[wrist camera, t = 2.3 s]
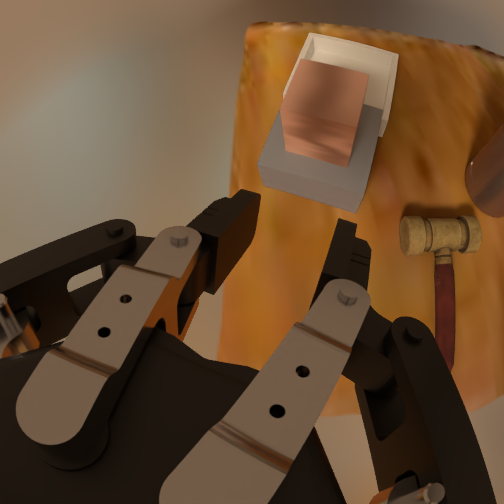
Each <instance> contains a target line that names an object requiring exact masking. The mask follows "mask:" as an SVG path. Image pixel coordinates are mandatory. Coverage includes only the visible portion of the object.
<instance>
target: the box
mask: <svg viewBox="0 0 504 504" xmlns="http://www.w3.org/2000/svg"><path fill="white" fill-rule="evenodd" d="M398 57H399V54H396V53H393V52H390V51H386V50H383V49H379V48H376V47H372V46H369V45H365V44H361V43H357V42H353V41H349V40H344V39H340V38H335V37H331V36H326V35H321V34H315V33H309V35H308V37H307V39H306V42H305V44H304V46H303V48H302V51H301V53H300V55H299V57H298V60H297V62H296V64H295V67H294V69H293V71H292V74H291V76H290V78H289V81H288V83H287V85H286V88H285V90H284V92H283V98H284V97H285V94H286V92H287V90H288V87H289V85H290V82H291V80H292V78H293V75H294V73H295V71H296V68H297V66H298V64H299V61H300V59H306V60H311V61H316V62H321V63H326V64H330V65H334V66H339V67H343V68H347V69H351V70H354V71H358V72H362V73H366V74H369V79H368V84H367V89H366V94H365V99H364V103H363V104H366V105H369V106H373V107H376V108H379V109H382V110H383V115H382V120H381V124H380V129H379V134H378V136H379V137H383V134H384V131H385V129H386V126H387V123H388V119H389V114H390V108H391V102H392V97H393V91H394V84H395V78H396V71H397V64H398Z"/></svg>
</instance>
